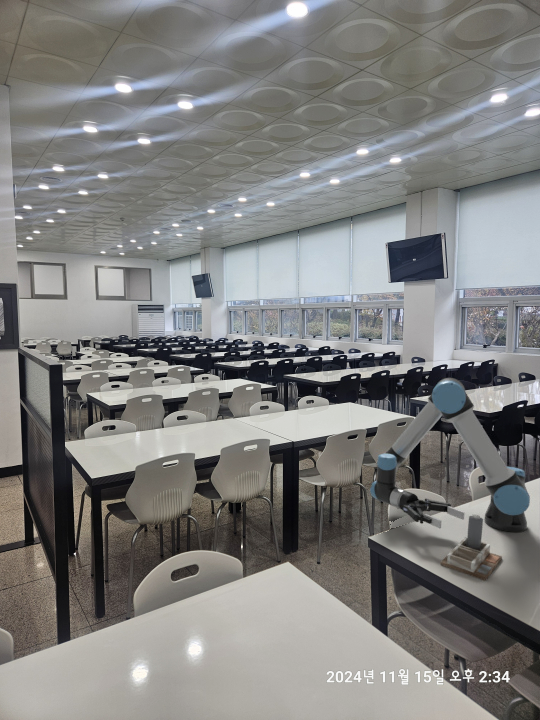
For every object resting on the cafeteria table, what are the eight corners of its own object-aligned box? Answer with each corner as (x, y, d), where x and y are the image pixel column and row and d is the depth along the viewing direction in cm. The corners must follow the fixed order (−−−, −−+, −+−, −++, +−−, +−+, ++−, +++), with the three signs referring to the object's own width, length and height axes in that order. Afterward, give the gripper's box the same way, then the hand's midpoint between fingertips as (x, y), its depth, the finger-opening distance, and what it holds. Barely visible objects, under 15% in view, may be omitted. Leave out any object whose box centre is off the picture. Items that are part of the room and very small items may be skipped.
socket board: (459, 545, 168) (460, 534, 167) (501, 559, 159) (502, 547, 158) (440, 564, 154) (441, 553, 154) (485, 580, 145) (486, 568, 145)
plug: (468, 548, 164) (471, 512, 163) (482, 553, 161) (485, 516, 160) (464, 552, 160) (467, 515, 160) (477, 556, 157) (480, 519, 157)
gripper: (424, 503, 191) (472, 522, 174) (382, 516, 177) (429, 538, 160) (425, 485, 191) (473, 502, 173) (383, 497, 177) (430, 517, 159)
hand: (452, 520), depth 167 cm, fingers open, 13 cm apart
